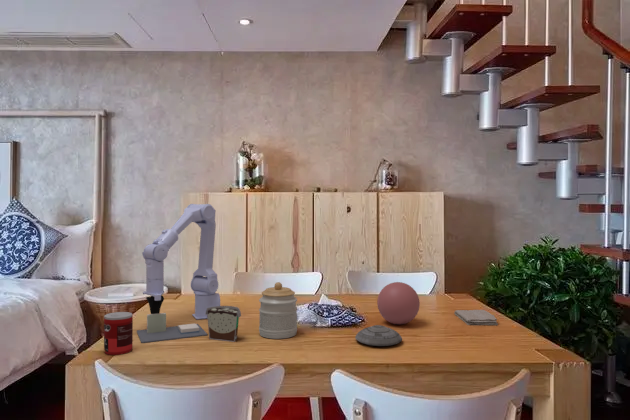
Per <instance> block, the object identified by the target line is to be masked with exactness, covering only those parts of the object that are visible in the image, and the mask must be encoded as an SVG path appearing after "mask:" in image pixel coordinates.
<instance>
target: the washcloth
mask: <svg viewBox="0 0 630 420" xmlns="http://www.w3.org/2000/svg"><path fill="white" fill-rule="evenodd" d="M453 314H454V315H455V316H456V317H458V319H460V320H461V321H462V322H463V323H465V324H466V325H468V326H489V327H490V326H498V322H497V320H498V319H497V318H496V317H495V315H494V314H491V313H490V312H488V311H487V310H485V309H470V310H467V309H456V310H454V313H453Z"/></svg>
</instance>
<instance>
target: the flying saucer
mask: <svg viewBox="0 0 630 420" xmlns="http://www.w3.org/2000/svg"><path fill="white" fill-rule="evenodd" d="M354 337H355V339H356V340H355V341H358V342H359V343H362V344H364V345H367V346H374V347H375V346H376V347H389V346H393V345H397V344H399V343H401V342H402V340H403V337H402V335H400V333H399V332H397V331H396V330H394V329H393V328H390V327H387V326H385V325H381V324H376V325H372V326H368V327H365V328H362V329H360V331H358V332H357V333H356V335H355V336H354Z"/></svg>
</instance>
